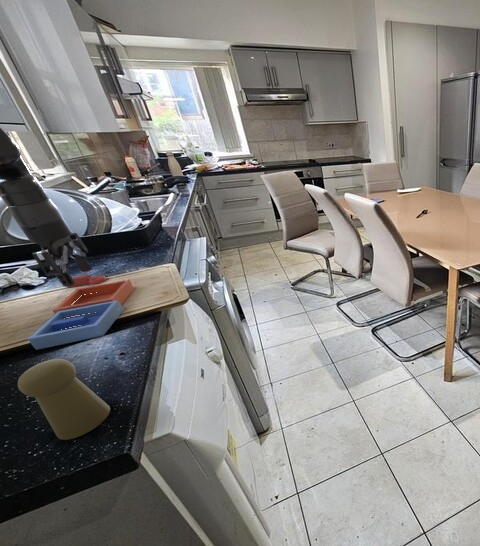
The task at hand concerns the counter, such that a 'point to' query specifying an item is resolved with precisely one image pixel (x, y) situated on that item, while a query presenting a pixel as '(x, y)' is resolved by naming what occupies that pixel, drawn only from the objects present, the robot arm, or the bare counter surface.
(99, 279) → the red block
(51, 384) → the cork
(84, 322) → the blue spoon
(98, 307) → the blue bin
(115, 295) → the red bin
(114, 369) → the counter surface
